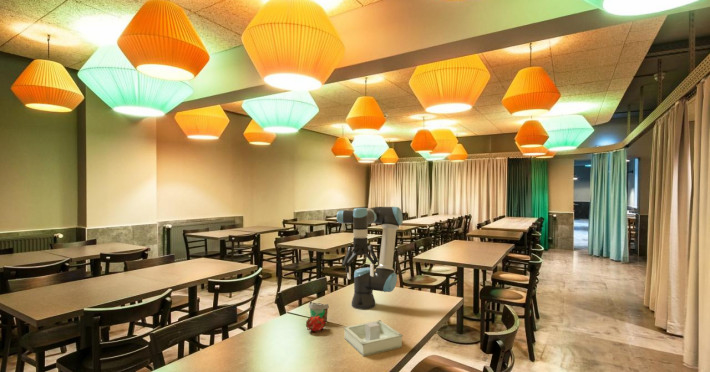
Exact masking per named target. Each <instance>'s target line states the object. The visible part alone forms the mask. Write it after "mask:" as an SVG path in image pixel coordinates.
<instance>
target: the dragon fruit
mask: <svg viewBox="0 0 710 372" xmlns="http://www.w3.org/2000/svg"><path fill="white" fill-rule="evenodd" d="M305 322H306V324H305V327H306V328H307V330H306V331H311V332H312V333H313V332H315V333H318V332H320V331H323V330H324V327H325V326H326V324H327V322H326V321H325V319H324V318H320V316H317V317H316V316H313V317H311V316H309V318H307V320H306V321H305Z"/></svg>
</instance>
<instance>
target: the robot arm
mask: <svg viewBox="0 0 710 372" xmlns="http://www.w3.org/2000/svg"><path fill="white" fill-rule="evenodd" d="M403 217H404V216H403V213H402V209H401V208H400V207H398V206H373V207H354V208H353V209H351V210H350V209H349V210H347V209H346V210H345V209H343V210H338V211H337V213H336V222H337V223H339V224H343V225H344V224H346V225H347V224H349V225H350V224H351V225H352V224H353V225H352V226H353V228H352V229H353V230H352V233H353V236H352V237H353V239H352V242H353V245H352V246H353V247H350V246H348V247H347V252H346V254H345V255H344V258H343V261H342V263H341V264H342V266H345V273H346V274H347V275H346V279H348V280H351V279H352V276H351V275H352V269H351V264H352V263H353V261H355V259H356V257H358V256H366V258H367V260H369V262H370V263H369V267H362V268H361V267H360V268H357V269H356V270H354V273H353V274H354V275H353V283H354V285H353V289H354V290H353V292H354V293H353V296H352V299H351V306H352V308H354V309H358V310H366V309H367V310H369V309H373V308H375V307H376V299H375V296H374V294H373V292H374V291H378V292H384V293H392V292H393V291H394V290H395V288H396V286H397V281H398V276H397V273H396V272H395V269H394V267H393V264H394V255H395V254H394V253H395V245H396V244H395V243H396V235H397V230H399V228H400V226H401V225H403V222H404V221H403V220H404V218H403ZM371 224H375V225H376V224H377V225H380V227H382V235H381V243H380V250H379V251H380V252H379V259H378V257H377V255H376V253H375V250H374V246H373V245H371V244H369V243H368V235H369V234H368V225H371ZM368 244H369V245H368ZM368 251H369V252H368ZM377 263H378V266H376V265H377Z"/></svg>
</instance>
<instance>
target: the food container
mask: <svg viewBox="0 0 710 372" xmlns="http://www.w3.org/2000/svg"><path fill="white" fill-rule="evenodd" d="M308 308H309V313H310V317H313V316H316V317H317V316H320V318H324V319H325V321H326V323H327V321H328V312H329V311H328V309H329V303H326V304H322V303H319V302H317V303H316V302H312V300H310V301H309V303H308Z"/></svg>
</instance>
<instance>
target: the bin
mask: <svg viewBox="0 0 710 372" xmlns="http://www.w3.org/2000/svg"><path fill="white" fill-rule="evenodd" d="M370 322H371V321H369V322H367V323H370ZM373 322H376V323H377V324H379V325H380V338H379V339H375V340H370V341H366V340H365V323H366V322H364V323H359V324H355V325H354V324H353V325H348V326H344V327H343V329H344V340H346V341H347V343H348V344H349V345H350V346H351V347H353V349H354V350H356V351H357V352H358V353H359V354H360V355H361V356H362V357H367V356H370V355H375V354H379V353H383V352H387V351H392V350H395V349H400V347H401V348H402V347H403V342H402V341H403V338H402V337H403V336H404V335H403V334H402V333H400V332H399V331H397V330H396V329H395V328H393V327H391V326H389V325H388V324H386V323H385V322H383V320H375V321H373Z"/></svg>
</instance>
